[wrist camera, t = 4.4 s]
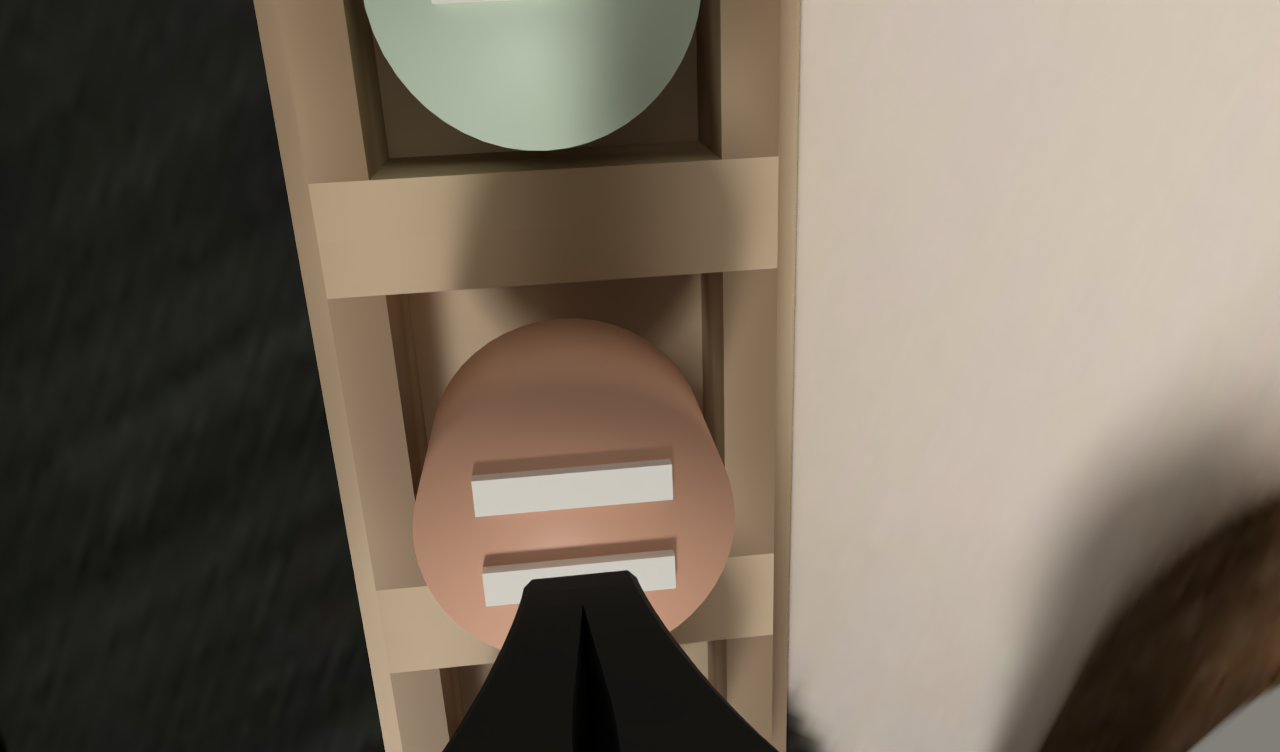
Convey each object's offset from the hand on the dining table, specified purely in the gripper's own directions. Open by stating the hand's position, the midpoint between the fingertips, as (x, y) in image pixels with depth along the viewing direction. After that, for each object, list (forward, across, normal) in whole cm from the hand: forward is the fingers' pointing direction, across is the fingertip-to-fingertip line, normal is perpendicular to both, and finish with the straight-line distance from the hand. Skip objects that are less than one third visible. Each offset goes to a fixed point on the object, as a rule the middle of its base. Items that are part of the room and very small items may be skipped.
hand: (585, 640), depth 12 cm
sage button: (+8, 0, -8) cm, 11 cm away
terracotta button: (+6, 0, 0) cm, 6 cm away
